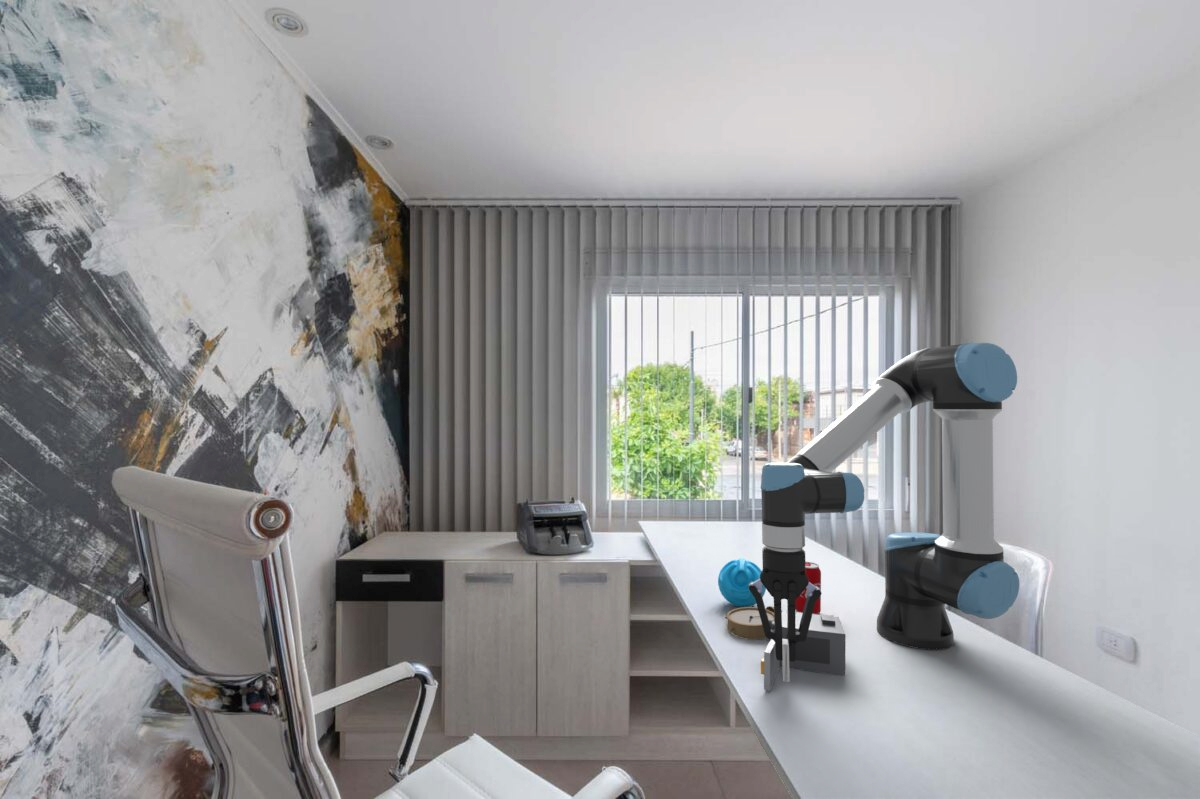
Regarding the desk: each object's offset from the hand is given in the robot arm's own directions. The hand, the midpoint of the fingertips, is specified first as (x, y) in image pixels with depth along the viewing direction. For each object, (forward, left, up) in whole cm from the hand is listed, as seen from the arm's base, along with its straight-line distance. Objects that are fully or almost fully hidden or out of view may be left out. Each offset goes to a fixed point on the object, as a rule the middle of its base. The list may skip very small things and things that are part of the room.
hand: (785, 678), depth 100 cm
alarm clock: (+4, -27, -3) cm, 27 cm away
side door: (+2, -4, -2) cm, 5 cm away
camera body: (-4, -14, -2) cm, 14 cm away
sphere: (+9, -42, -3) cm, 43 cm away
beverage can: (-7, -42, -3) cm, 42 cm away
